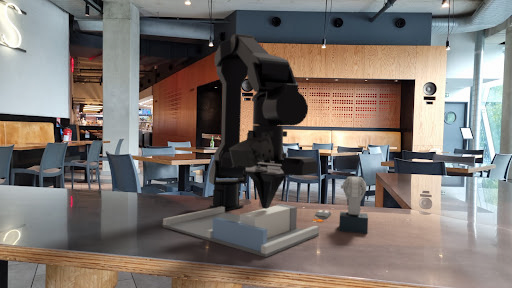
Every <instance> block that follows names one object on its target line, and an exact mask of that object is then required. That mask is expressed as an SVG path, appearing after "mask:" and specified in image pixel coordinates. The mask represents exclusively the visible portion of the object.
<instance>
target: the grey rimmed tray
mask: <svg viewBox="0 0 512 288" xmlns="http://www.w3.org/2000/svg"><path fill="white" fill-rule="evenodd" d="M162 228H165V229H169V230H172V231H175V232H179V233H182V234H186V235H189V236H193V237H196V238H199V239H203V240H206V241H210V242H213V243H217V244H219V245H224V246H227V247H230V248H233V249H237V250H240V251H244V252H247V253H250V254H254V255H256V256H257V255H258V256H261V257H264V258H268V257H270V256H272V255H275V254H277V253H280V252H282V251H285V250H287V249H290V248H291V247H294V246H297V245H299V244H302V243H304V242H306V241H309V240H311V239H313V238H315V237H318V236H320V235H319V234H320V226H318V225H313V226H310V227H307V228H305V229H303V228H298V227H296V229H294V230H291V231H290V230H289V231H286V232H283V233H281V234H278V235H275V236H272V237H269V238H267V229H264V228H260V227H256V226H251V225H247V224H243V223H240V214H234V213H231V212H230V213H229V212H227V211H226V210H225V207H222V206H221V207H217V208H213V207H211V208H208V209H202V210H198V211H193V212H189V213H183V214H179V215H174V216H169V217H164V218H163V219H162ZM308 239H309V240H308Z"/></svg>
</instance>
